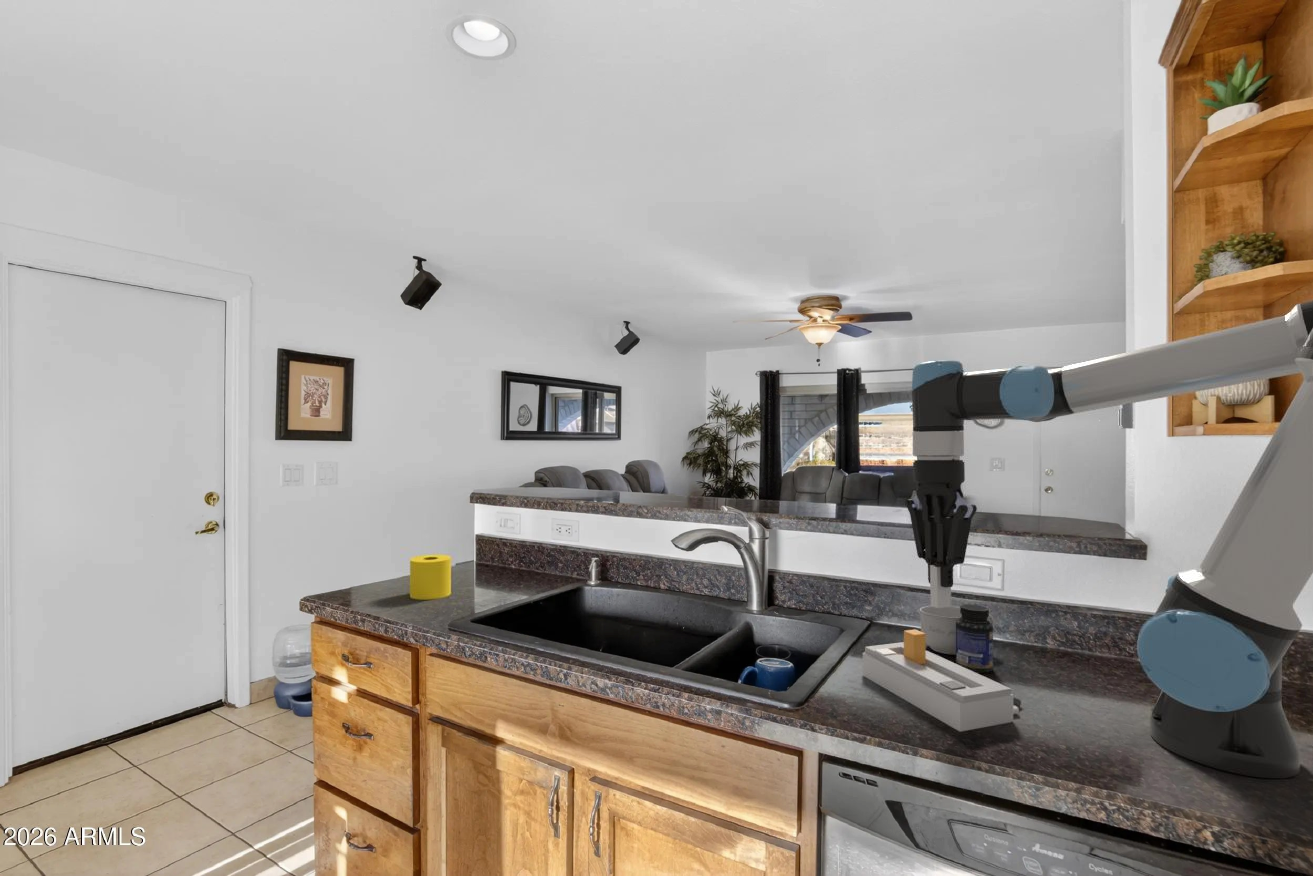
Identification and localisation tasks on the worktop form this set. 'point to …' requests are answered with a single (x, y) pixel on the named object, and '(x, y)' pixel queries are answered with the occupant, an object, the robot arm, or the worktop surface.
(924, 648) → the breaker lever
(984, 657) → the pill bottle
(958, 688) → the slider switch box
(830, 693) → the worktop surface
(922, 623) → the teacup
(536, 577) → the worktop surface
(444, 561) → the yellow toilet paper roll
